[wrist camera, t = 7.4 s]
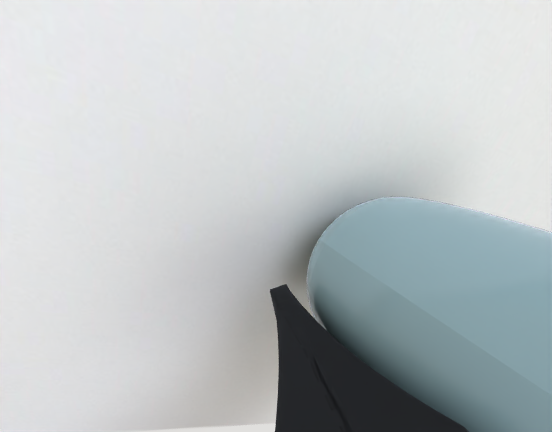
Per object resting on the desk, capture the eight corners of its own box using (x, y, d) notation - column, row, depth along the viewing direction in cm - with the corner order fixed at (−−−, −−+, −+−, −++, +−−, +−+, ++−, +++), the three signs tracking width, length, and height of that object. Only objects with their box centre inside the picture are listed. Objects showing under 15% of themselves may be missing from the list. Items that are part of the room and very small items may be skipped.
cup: (268, 209, 10) (913, 648, 2) (402, 156, 13) (838, 255, 5) (286, 342, 14) (536, 663, 6) (385, 275, 17) (626, 428, 9)
